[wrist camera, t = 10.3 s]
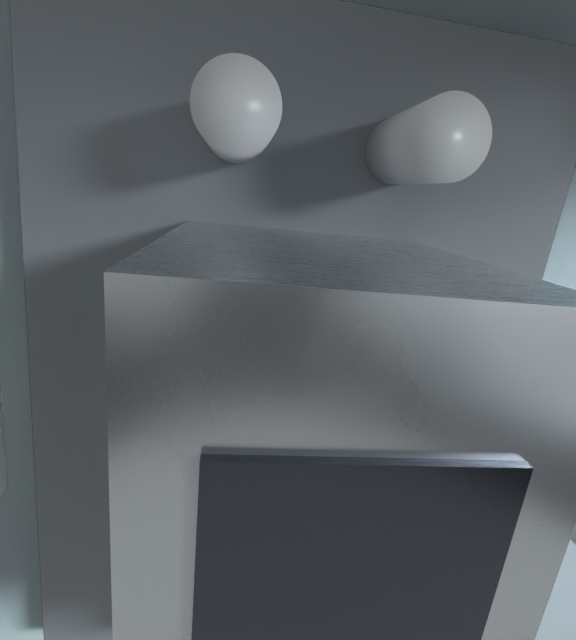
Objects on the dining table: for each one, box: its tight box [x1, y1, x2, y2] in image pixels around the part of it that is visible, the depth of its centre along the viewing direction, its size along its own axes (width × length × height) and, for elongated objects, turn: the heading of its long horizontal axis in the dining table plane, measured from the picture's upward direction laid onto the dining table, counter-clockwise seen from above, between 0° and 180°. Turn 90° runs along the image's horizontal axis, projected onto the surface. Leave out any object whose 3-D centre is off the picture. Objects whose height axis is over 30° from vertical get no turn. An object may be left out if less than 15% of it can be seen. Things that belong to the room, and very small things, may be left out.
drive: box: [104, 221, 576, 640], centre depth 9 cm, size 10×6×7 cm, turn 174°
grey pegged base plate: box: [9, 0, 576, 640], centre depth 12 cm, size 20×14×4 cm
